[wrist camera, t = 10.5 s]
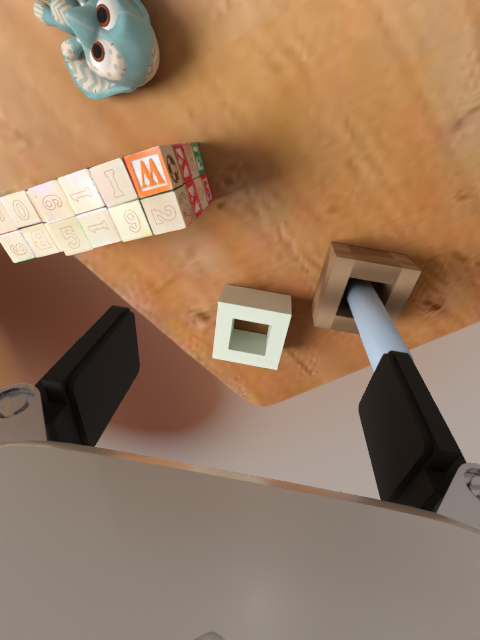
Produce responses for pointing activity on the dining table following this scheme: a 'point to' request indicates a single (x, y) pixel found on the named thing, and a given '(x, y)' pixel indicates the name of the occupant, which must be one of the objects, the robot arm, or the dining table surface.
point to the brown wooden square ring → (368, 264)
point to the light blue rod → (373, 321)
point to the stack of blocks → (107, 203)
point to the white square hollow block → (253, 309)
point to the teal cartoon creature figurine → (104, 43)
